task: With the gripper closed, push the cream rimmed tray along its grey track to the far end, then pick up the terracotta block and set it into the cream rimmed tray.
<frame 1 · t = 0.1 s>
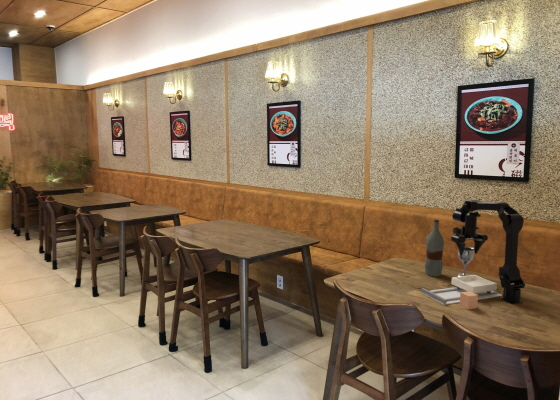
hand: (468, 254, 225), 15 cm above the table, tool pointing down, fingers open, 9 cm apart
cream rimmed tray: (473, 285, 211), point 4 cm above the table, slide at 0.0 cm
bottle: (433, 274, 239), on the table
wine glass: (464, 276, 237), on the table
block: (468, 306, 194), on the table
track: (461, 294, 209), on the table
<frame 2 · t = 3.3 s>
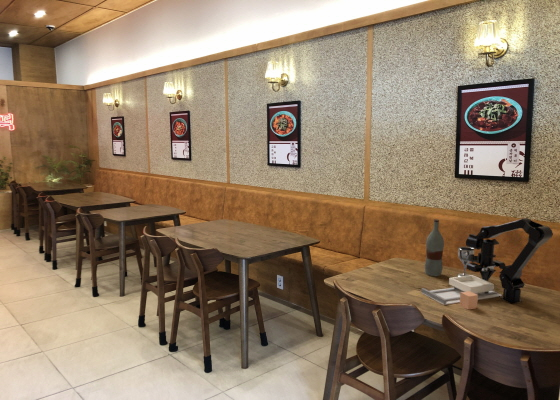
hand: (484, 283, 213), 4 cm above the table, tool pointing down, fingers closed
cream rimmed tray: (471, 285, 210), point 4 cm above the table, slide at 1.5 cm, touching gripper
everything else where it was.
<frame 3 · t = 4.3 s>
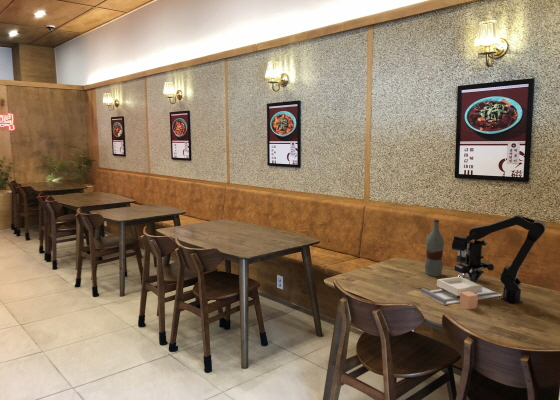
hand: (472, 284, 210), 4 cm above the table, tool pointing down, fingers closed
cream rimmed tray: (458, 287, 208), point 4 cm above the table, slide at 8.8 cm, touching gripper
everything else where it was.
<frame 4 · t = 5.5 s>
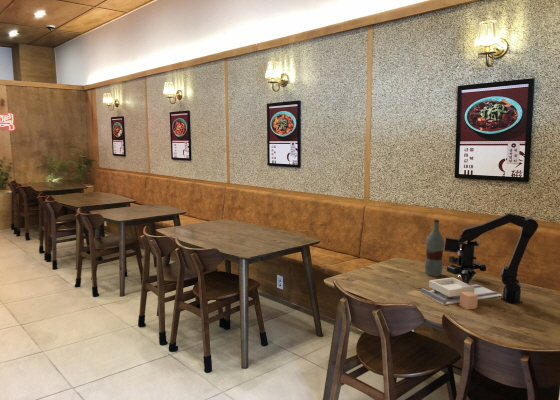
hand: (465, 285, 209), 4 cm above the table, tool pointing down, fingers closed
cream rimmed tray: (451, 288, 206), point 4 cm above the table, slide at 13.3 cm, touching gripper
everything else where it was.
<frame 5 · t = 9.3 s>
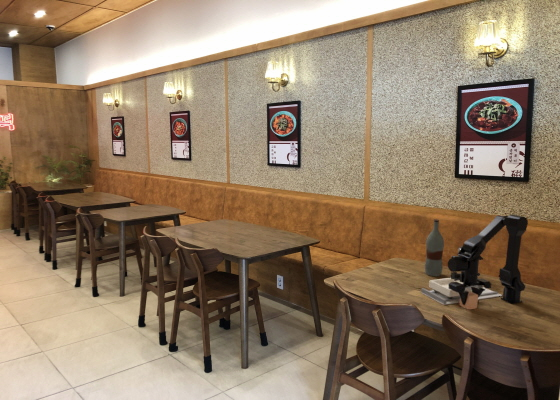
hand: (468, 303, 194), 1 cm above the table, tool pointing down, fingers closed on block, 5 cm apart
cream rimmed tray: (451, 288, 206), point 4 cm above the table, slide at 13.4 cm
block: (468, 306, 194), on the table, touching gripper
everything else where it was.
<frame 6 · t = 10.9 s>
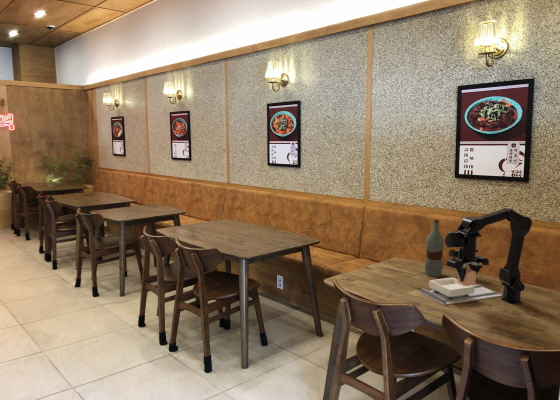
hand: (466, 280, 195), 11 cm above the table, tool pointing down, fingers closed on block, 5 cm apart
block: (466, 283, 195), point 10 cm above the table, touching gripper
everything else where it was.
when the fingers open (7 cm above the table, at t = 12.6 s): block drops 1 cm, resting on cream rimmed tray.
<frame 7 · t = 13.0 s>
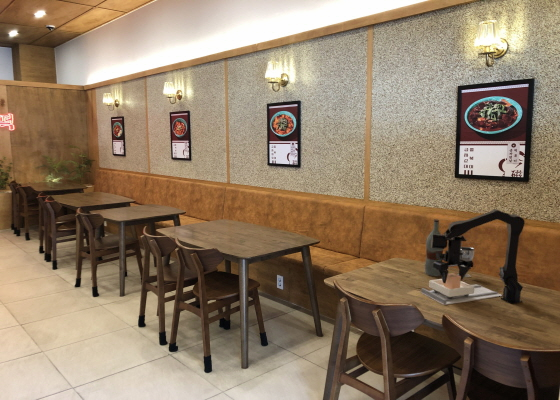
hand: (452, 282, 206), 7 cm above the table, tool pointing down, fingers open, 9 cm apart
cream rimmed tray: (451, 288, 206), point 4 cm above the table, slide at 13.4 cm, touching block
block: (451, 287, 206), point 4 cm above the table, touching cream rimmed tray
everything else where it was.
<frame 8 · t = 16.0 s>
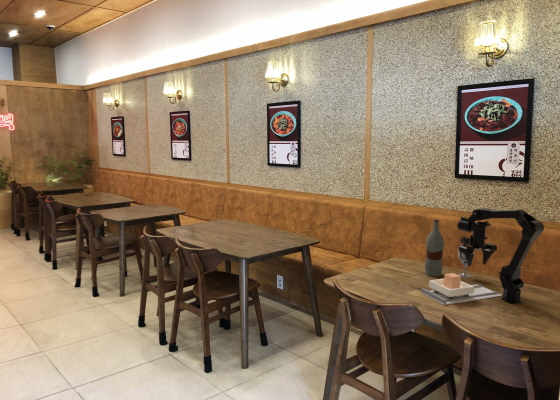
hand: (476, 265, 215), 12 cm above the table, tool pointing down, fingers open, 9 cm apart
nothing on the table moved.
at the end: cream rimmed tray slide at 13.4 cm; block inside the target area (0.5 cm from its centre), point 4.1 cm above the table; block touching cream rimmed tray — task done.
